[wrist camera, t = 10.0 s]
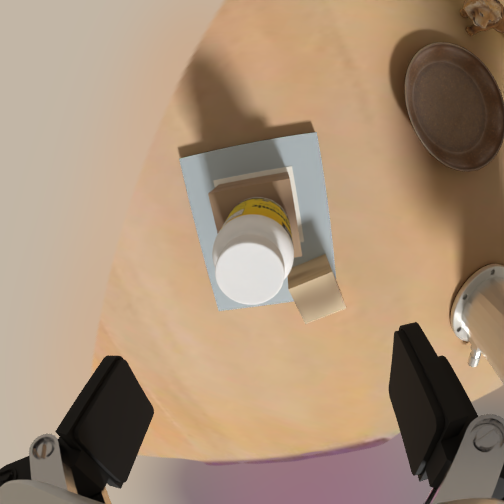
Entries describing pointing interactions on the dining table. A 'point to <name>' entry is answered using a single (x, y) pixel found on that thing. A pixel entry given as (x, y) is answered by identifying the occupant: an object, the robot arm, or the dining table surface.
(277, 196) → the walnut block
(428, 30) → the dining table surface
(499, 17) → the lion figurine
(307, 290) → the oak cube
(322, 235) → the board
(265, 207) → the supplement bottle
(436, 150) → the saucer
